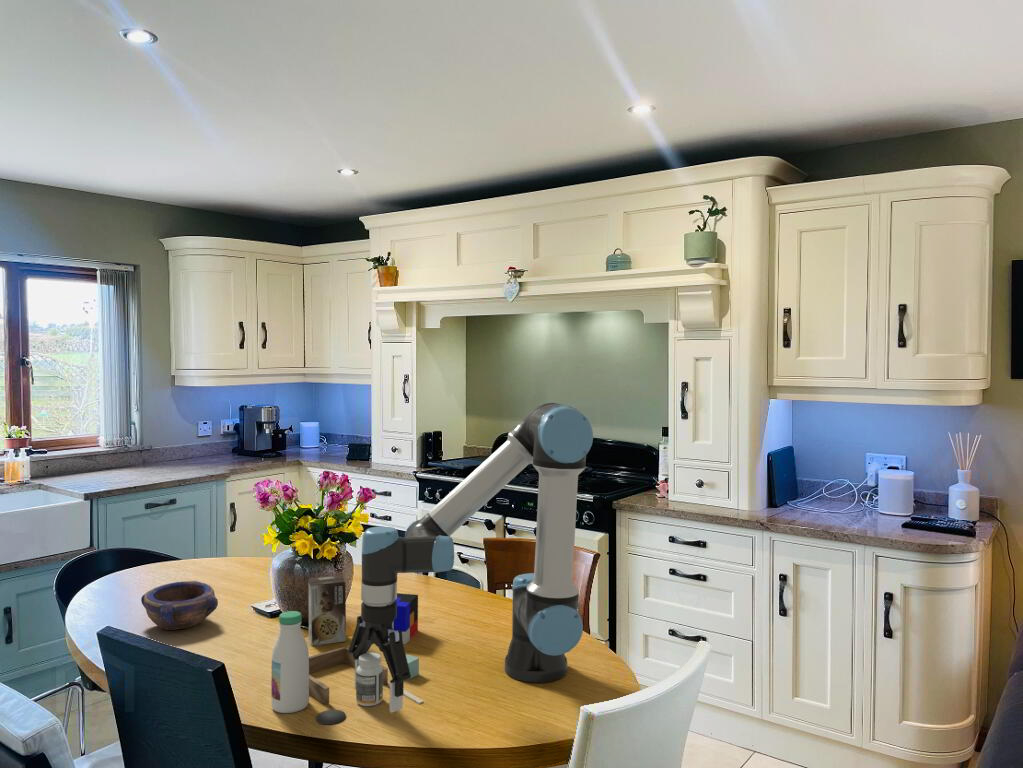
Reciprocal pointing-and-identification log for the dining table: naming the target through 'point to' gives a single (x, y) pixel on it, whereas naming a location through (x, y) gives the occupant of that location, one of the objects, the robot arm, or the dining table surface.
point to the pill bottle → (369, 680)
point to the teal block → (413, 665)
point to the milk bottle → (290, 666)
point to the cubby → (328, 660)
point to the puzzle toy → (406, 616)
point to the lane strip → (411, 696)
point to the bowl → (179, 604)
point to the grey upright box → (327, 610)
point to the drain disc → (330, 717)
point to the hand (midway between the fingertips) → (378, 698)
